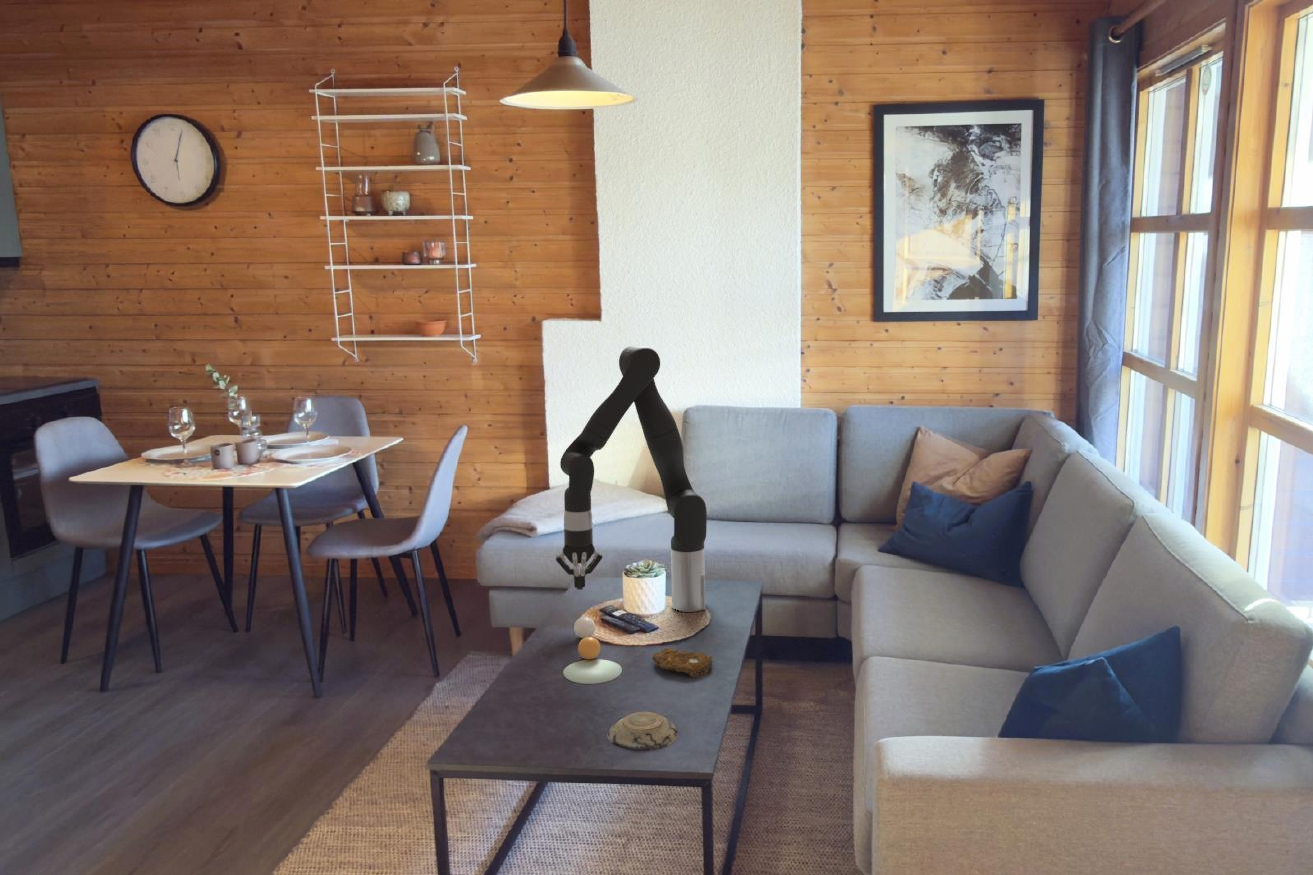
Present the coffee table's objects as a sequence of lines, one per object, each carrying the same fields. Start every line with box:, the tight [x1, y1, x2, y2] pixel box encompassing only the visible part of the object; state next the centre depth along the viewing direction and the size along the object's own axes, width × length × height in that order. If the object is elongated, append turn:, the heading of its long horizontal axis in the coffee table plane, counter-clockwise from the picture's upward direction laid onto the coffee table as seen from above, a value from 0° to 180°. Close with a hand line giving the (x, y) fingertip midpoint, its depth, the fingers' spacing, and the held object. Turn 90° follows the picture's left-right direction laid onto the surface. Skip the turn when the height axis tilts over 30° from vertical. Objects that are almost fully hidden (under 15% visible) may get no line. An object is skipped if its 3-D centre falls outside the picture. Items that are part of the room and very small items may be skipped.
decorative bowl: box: [606, 711, 678, 752], centre depth 219 cm, size 15×4×15 cm
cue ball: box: [573, 616, 596, 639], centre depth 272 cm, size 6×6×6 cm
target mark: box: [562, 658, 623, 685], centre depth 251 cm, size 14×14×1 cm
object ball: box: [577, 636, 601, 660], centre depth 259 cm, size 6×6×6 cm
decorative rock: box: [651, 647, 713, 678], centre depth 252 cm, size 11×4×15 cm
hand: (579, 588), depth 281 cm, fingers closed
